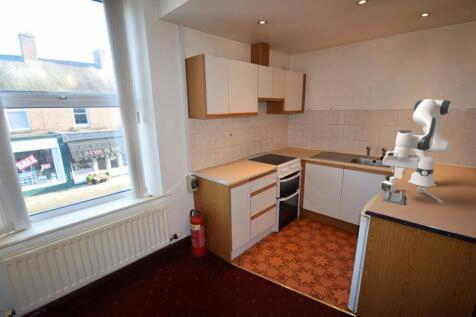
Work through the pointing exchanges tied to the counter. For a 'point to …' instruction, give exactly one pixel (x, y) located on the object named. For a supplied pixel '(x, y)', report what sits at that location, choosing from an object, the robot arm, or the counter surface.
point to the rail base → (393, 198)
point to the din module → (398, 172)
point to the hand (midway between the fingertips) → (398, 173)
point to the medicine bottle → (389, 184)
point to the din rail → (399, 198)
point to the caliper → (427, 193)
